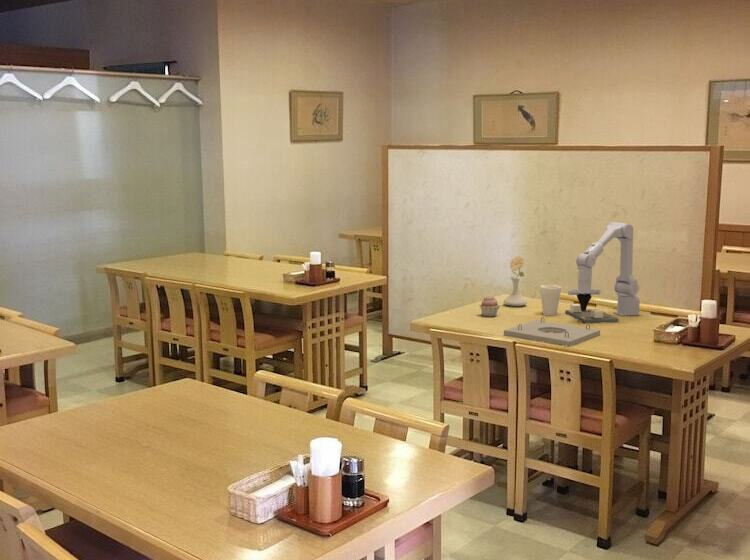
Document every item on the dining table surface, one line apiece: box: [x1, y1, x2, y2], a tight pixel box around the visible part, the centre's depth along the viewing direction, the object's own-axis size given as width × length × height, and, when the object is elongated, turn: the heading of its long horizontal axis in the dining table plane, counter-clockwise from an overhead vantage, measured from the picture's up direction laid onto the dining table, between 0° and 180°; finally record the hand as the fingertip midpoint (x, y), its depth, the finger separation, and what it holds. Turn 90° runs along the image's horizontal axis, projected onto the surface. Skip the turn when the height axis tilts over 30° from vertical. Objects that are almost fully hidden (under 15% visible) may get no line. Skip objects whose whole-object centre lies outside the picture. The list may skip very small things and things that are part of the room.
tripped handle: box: [591, 309, 604, 318], centre depth 370 cm, size 4×4×3 cm
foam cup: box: [540, 284, 562, 316], centre depth 383 cm, size 10×9×13 cm
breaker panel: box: [564, 308, 619, 324], centre depth 377 cm, size 16×22×2 cm
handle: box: [569, 303, 582, 312], centre depth 383 cm, size 4×4×3 cm
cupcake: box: [479, 294, 501, 318], centre depth 380 cm, size 9×9×10 cm
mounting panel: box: [503, 316, 601, 347], centre depth 341 cm, size 27×5×30 cm
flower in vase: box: [503, 255, 528, 307], centre depth 402 cm, size 13×11×25 cm
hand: (583, 310), depth 368 cm, fingers closed
